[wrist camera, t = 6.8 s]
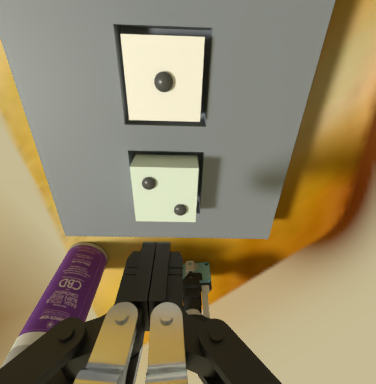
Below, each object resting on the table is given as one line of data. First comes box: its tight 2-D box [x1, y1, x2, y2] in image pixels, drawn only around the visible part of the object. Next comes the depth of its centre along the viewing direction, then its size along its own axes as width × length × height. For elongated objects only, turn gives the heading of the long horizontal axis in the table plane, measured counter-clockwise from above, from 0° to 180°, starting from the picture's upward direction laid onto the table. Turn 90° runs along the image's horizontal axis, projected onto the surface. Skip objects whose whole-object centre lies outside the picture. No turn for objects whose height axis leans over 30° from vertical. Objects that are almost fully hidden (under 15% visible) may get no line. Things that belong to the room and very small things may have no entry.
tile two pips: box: [130, 154, 199, 222], centre depth 19 cm, size 5×5×3 cm
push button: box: [183, 260, 212, 322], centre depth 25 cm, size 7×5×10 cm
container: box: [0, 242, 108, 369], centre depth 22 cm, size 5×5×15 cm
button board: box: [0, 0, 335, 239], centre depth 17 cm, size 28×20×3 cm
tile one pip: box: [120, 34, 205, 122], centre depth 16 cm, size 5×5×3 cm
